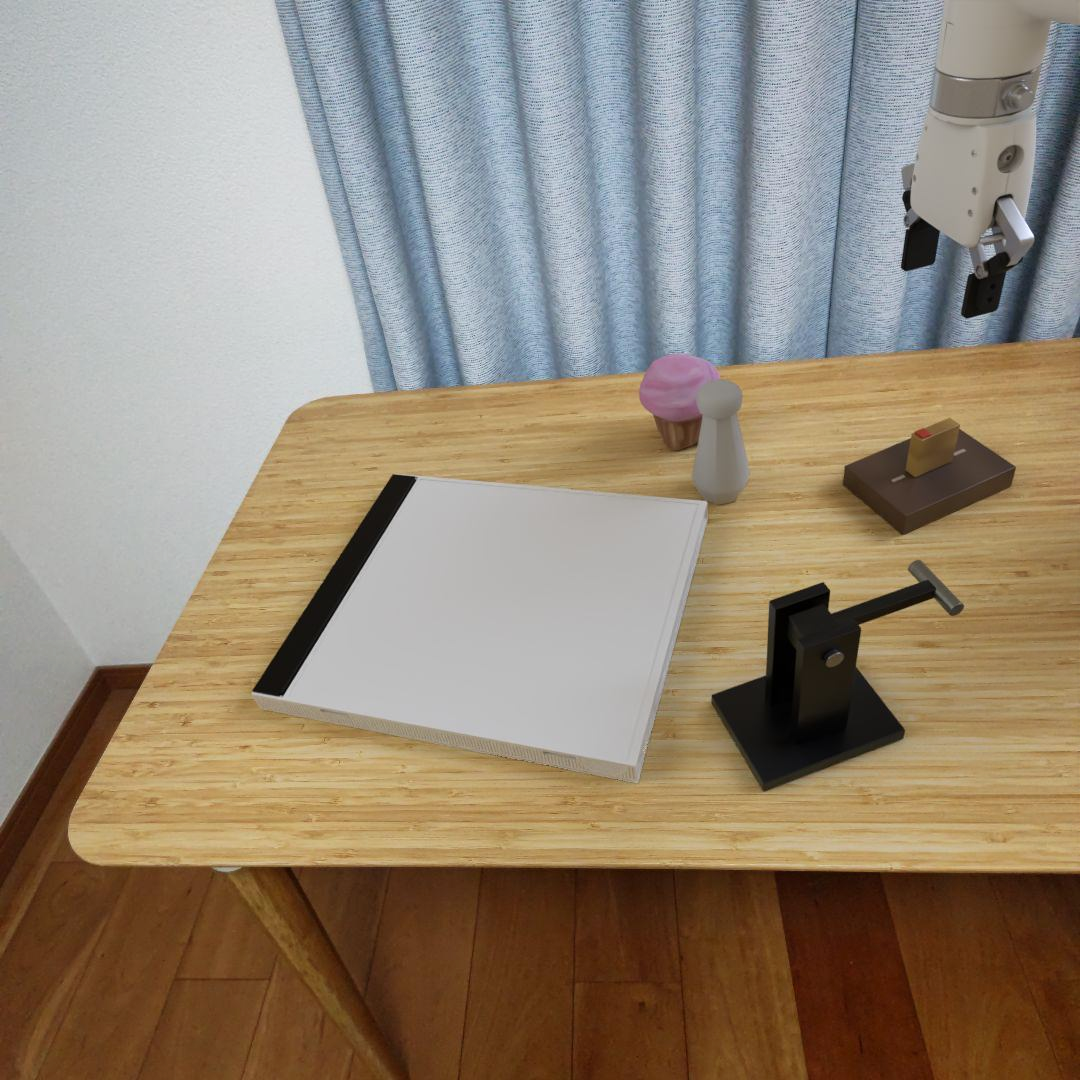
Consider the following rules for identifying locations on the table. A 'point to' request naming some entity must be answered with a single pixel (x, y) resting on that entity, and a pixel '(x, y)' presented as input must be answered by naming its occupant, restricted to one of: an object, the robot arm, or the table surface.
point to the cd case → (498, 622)
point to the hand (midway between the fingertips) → (946, 289)
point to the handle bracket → (805, 700)
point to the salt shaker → (720, 444)
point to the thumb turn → (932, 447)
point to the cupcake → (676, 396)
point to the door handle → (876, 605)
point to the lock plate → (927, 483)
